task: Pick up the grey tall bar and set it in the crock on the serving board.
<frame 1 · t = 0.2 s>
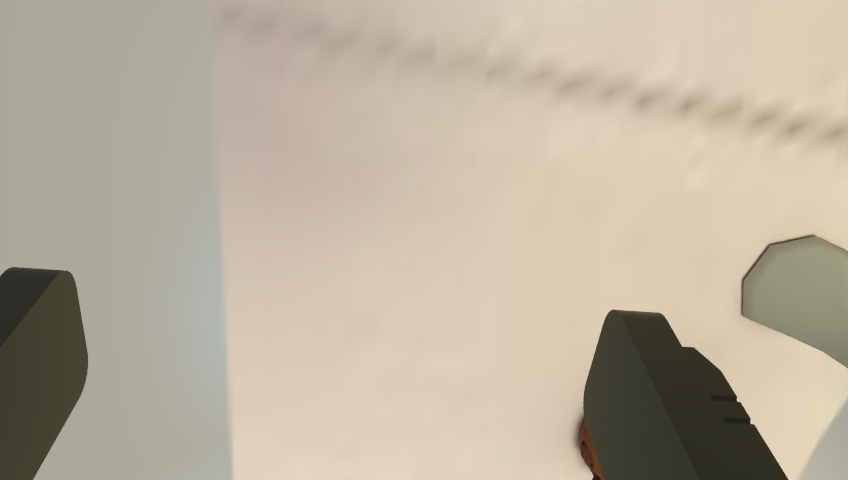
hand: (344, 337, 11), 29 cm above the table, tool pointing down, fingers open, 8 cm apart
flask: (790, 280, 46), on the table
bread roll: (640, 420, 51), on the table
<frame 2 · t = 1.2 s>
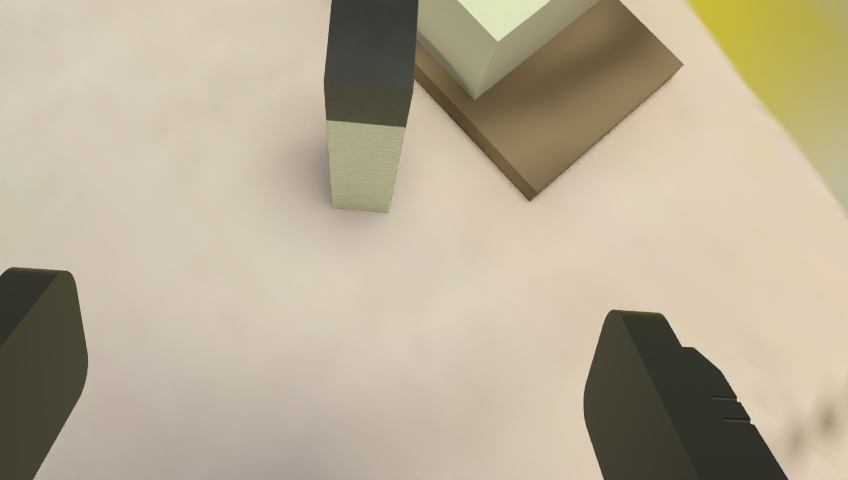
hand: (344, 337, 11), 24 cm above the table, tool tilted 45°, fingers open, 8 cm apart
grey tall bar: (363, 174, 37), on the table
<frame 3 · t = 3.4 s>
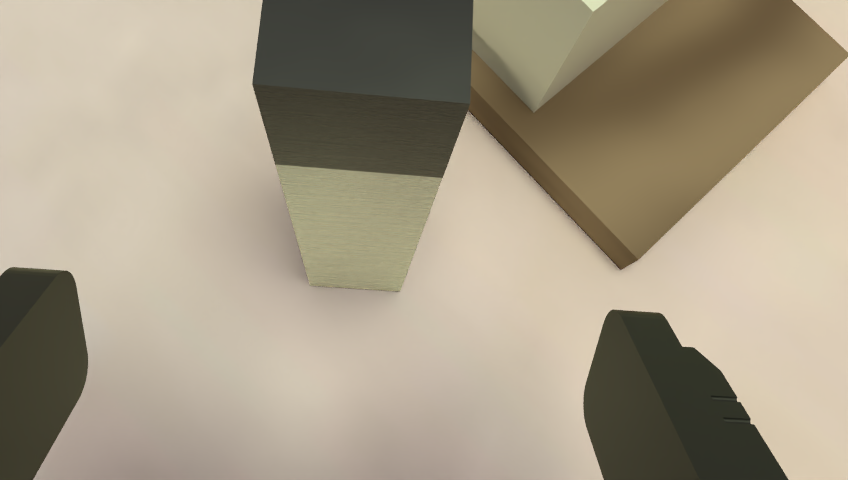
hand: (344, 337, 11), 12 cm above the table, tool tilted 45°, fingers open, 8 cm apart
grey tall bar: (359, 231, 23), on the table
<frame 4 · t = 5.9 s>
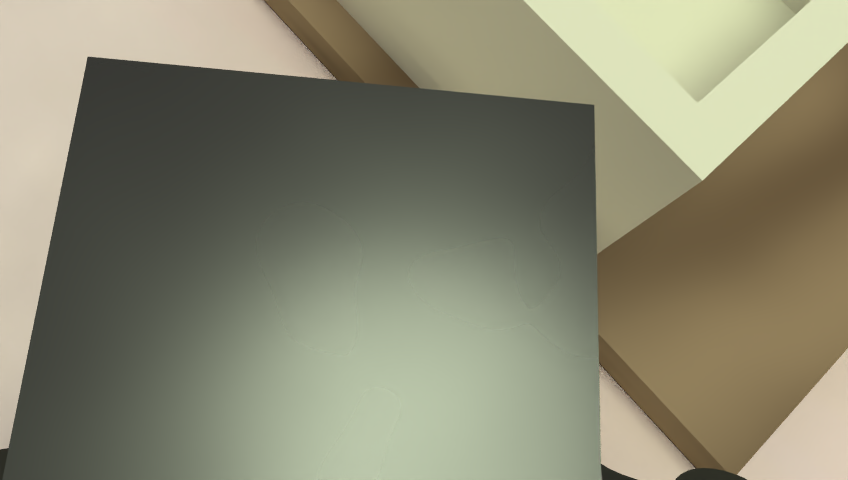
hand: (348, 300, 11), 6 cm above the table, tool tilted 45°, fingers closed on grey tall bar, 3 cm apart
serving board: (542, 20, 21), on the table
grey tall bar: (343, 427, 17), on the table, touching gripper
crock: (581, 14, 19), resting on serving board
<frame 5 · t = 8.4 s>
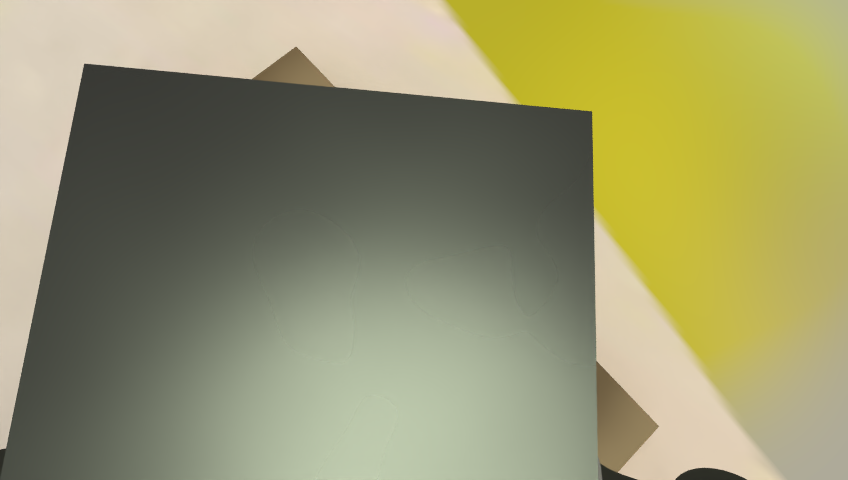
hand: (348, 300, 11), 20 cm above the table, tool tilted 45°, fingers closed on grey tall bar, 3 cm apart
serving board: (370, 320, 31), on the table
grey tall bar: (343, 428, 17), point 14 cm above the table, touching gripper
when the fingers open (10 cm above the table, at t = 11.4 s): grey tall bar drops 1 cm, resting on crock.
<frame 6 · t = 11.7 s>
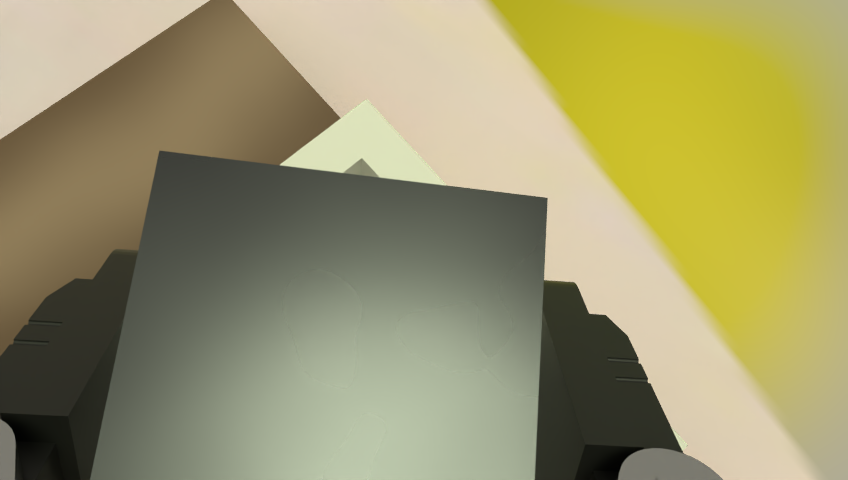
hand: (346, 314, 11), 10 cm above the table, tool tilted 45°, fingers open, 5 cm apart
serving board: (322, 401, 21), on the table
grey tall bar: (343, 430, 18), point 2 cm above the table, touching crock
crock: (343, 426, 19), resting on serving board
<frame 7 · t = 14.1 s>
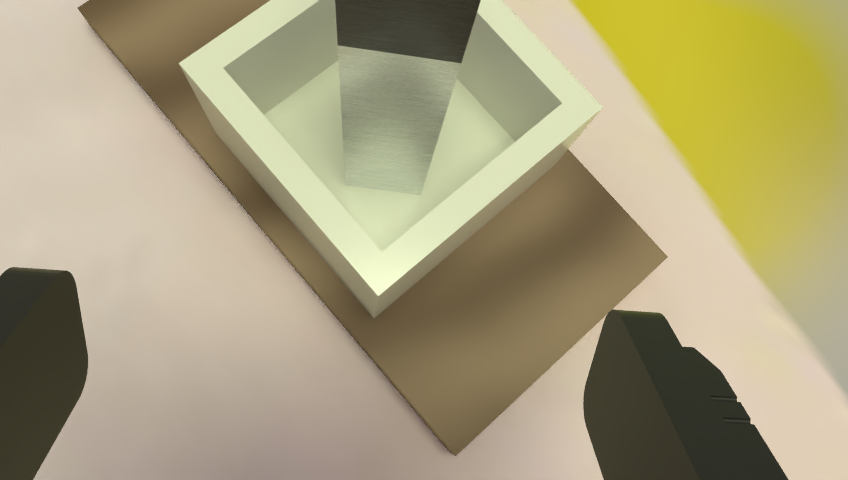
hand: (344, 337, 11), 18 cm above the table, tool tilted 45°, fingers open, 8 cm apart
serving board: (371, 145, 30), on the table
grey tall bar: (389, 143, 28), point 2 cm above the table, touching crock
crock: (387, 149, 29), resting on serving board
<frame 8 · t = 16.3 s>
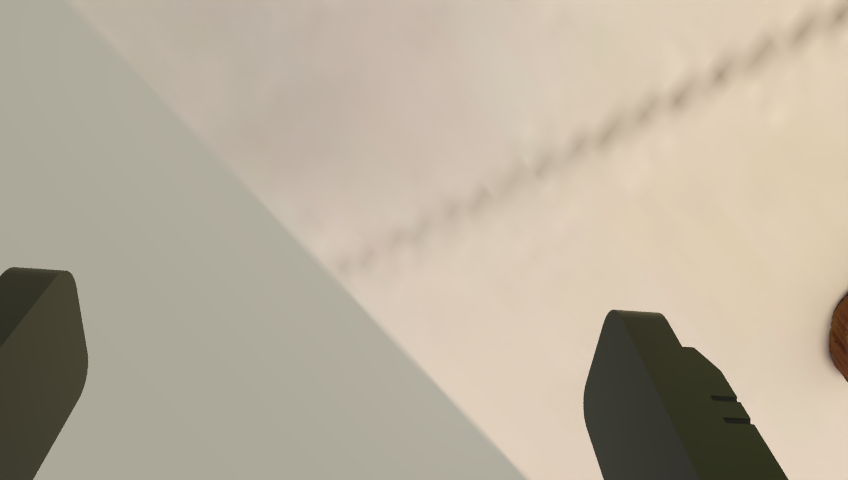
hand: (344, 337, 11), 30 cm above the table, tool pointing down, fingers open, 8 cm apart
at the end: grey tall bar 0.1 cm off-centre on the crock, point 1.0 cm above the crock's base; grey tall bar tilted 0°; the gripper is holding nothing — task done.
